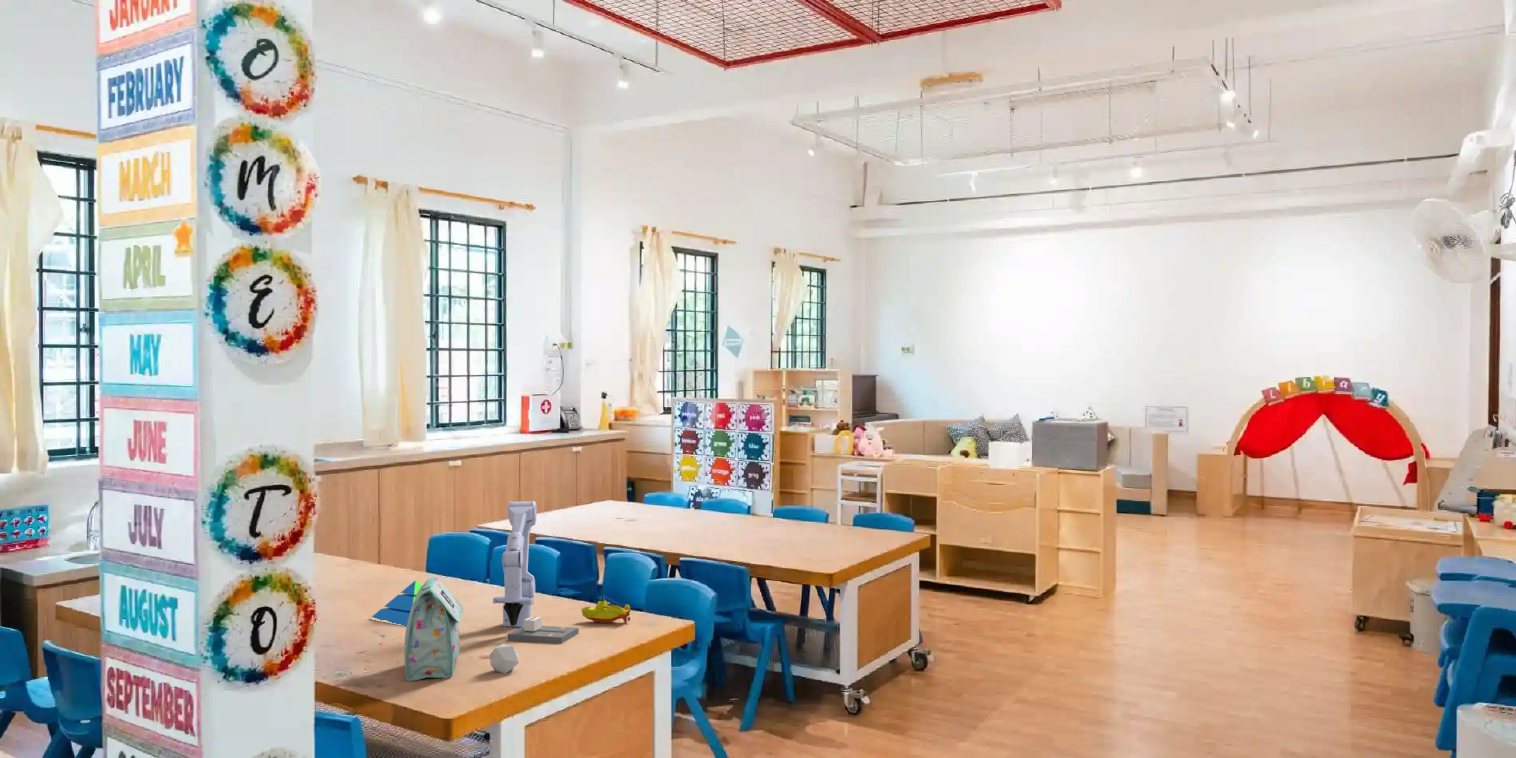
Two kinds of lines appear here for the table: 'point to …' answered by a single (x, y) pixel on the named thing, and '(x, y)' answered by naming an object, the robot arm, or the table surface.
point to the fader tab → (532, 623)
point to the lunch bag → (432, 633)
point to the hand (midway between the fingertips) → (513, 624)
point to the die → (504, 658)
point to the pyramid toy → (400, 606)
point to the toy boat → (606, 612)
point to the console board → (544, 634)
